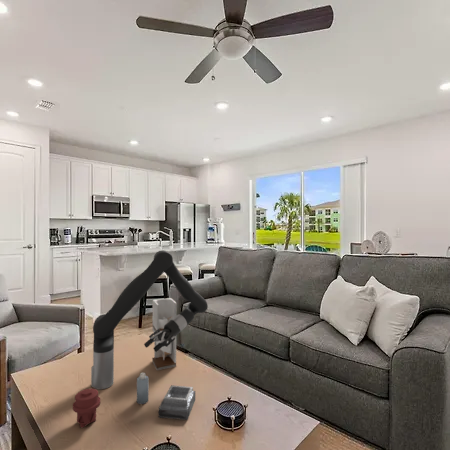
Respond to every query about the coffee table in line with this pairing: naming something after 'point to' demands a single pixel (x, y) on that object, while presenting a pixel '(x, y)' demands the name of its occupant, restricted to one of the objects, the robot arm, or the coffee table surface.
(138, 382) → the pale blue squeeze bottle
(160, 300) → the white shelf unit
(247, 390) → the coffee table surface
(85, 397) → the mechanical component
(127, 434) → the coffee table surface
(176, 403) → the square grey open box
